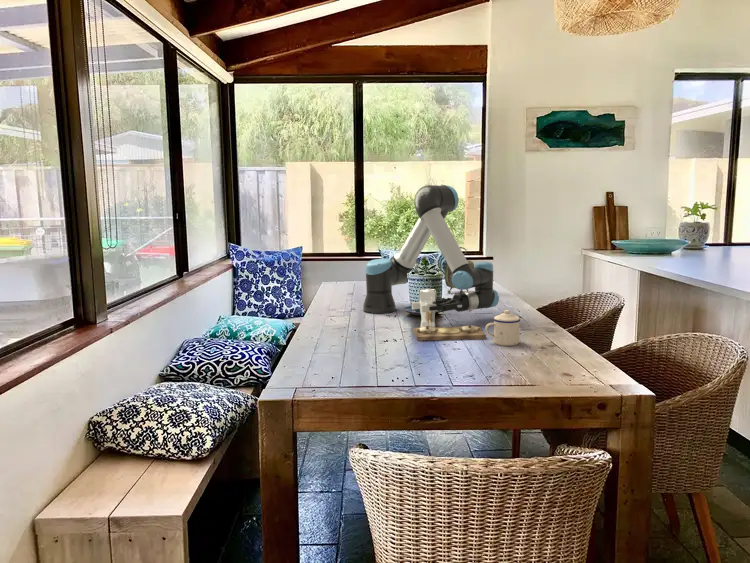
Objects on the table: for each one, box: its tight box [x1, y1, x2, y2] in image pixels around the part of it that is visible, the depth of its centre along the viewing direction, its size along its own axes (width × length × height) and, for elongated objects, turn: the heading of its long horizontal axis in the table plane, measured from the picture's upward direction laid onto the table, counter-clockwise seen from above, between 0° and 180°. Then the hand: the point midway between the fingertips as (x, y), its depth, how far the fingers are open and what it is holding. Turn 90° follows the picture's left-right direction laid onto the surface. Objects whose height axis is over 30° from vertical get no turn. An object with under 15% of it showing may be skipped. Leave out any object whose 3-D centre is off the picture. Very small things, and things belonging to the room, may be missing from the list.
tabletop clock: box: [444, 246, 475, 294], centre depth 298 cm, size 14×9×25 cm, turn 62°
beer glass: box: [418, 288, 438, 328], centre depth 223 cm, size 7×7×15 cm
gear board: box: [413, 324, 487, 342], centre depth 210 cm, size 25×14×4 cm, turn 92°
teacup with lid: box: [484, 309, 521, 347], centre depth 197 cm, size 12×9×12 cm
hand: (417, 307), depth 220 cm, fingers closed on beer glass, 7 cm apart
